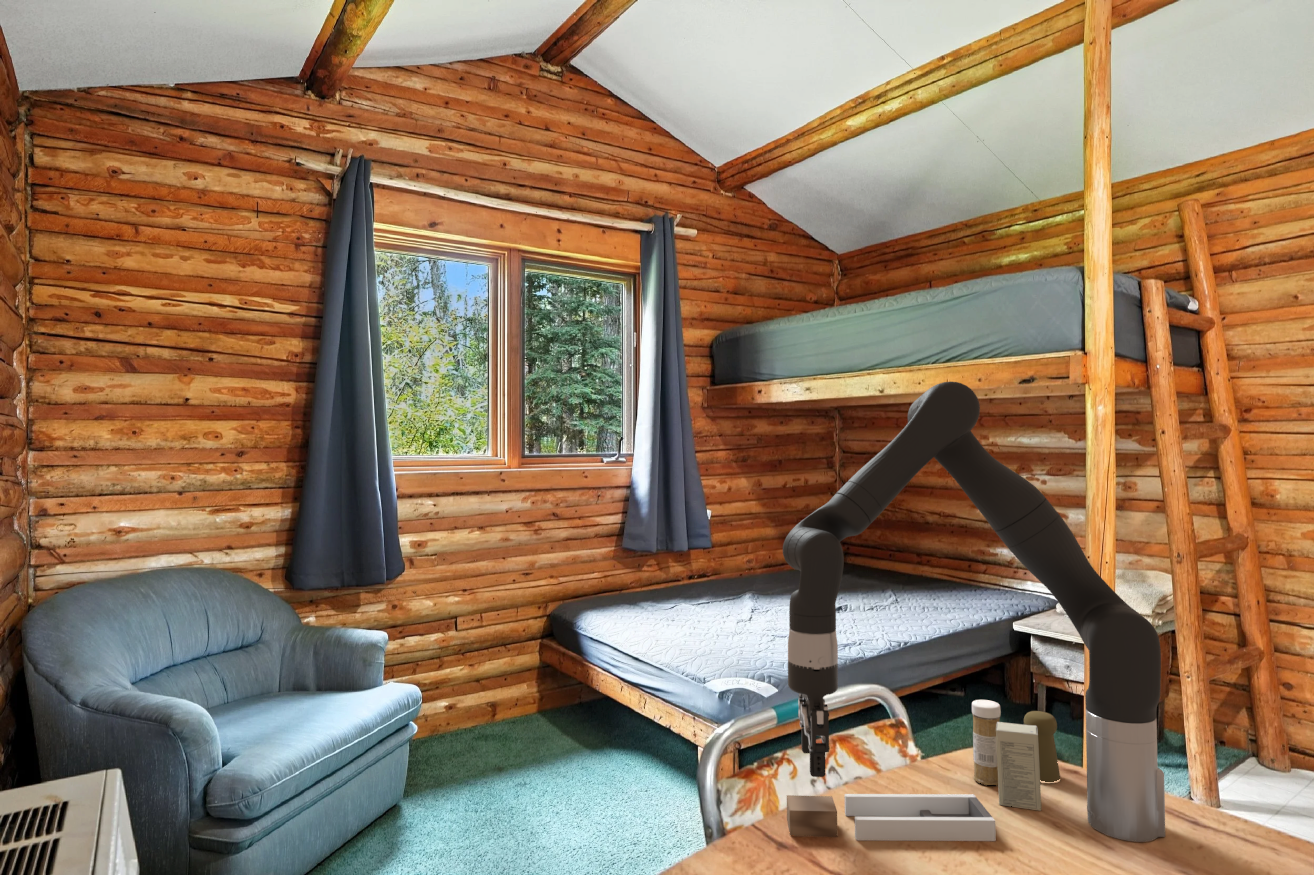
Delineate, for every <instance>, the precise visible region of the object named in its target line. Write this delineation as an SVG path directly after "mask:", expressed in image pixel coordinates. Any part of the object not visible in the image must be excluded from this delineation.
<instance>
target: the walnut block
mask: <svg viewBox="0 0 1314 875" xmlns="http://www.w3.org/2000/svg"><path fill="white" fill-rule="evenodd" d="M835 803H836V802H835V800H834V798H833V796H832V795H830V796H829V795H828V796H827V795H794V794H793V795H789V794H787V795H786V822H787V828H788V832H790V833H789V836H790V835H794V836H793V837H811V836H813V837H814V838H815V837H816V838H838V837H839V836H838V810H837V807H836V804H835Z"/></svg>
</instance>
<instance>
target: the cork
mask: <svg viewBox="0 0 1314 875" xmlns="http://www.w3.org/2000/svg"><path fill="white" fill-rule="evenodd" d="M1023 724H1024V725H1034V726H1037V729H1038V747H1039V768H1040V780H1041V781H1045V782H1054V781H1057V780H1059V779H1061V774H1060V773H1061V772H1060V767H1059V760H1058V756H1057V748H1056V743H1055V736H1054V735H1055V733H1056V732H1057V729H1058V723H1057V720H1056V718H1055V716H1054V715H1052V714H1051V713H1049V712H1046V711H1041V710H1040V711H1039V710H1031V711H1028V712H1026V714H1024V718H1023ZM1057 762H1058V763H1057Z"/></svg>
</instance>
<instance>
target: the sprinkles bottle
mask: <svg viewBox="0 0 1314 875" xmlns="http://www.w3.org/2000/svg"><path fill="white" fill-rule="evenodd" d="M971 713H972V719H973V720H972V722H973V726H972V729H973V730H972V744H973V745H972V750H973V768H974V769H973V773H974V774H973V780H974V781H975V782H976V781H977V782H976V783H978V784H980V783H981V784H980V785H983V784H984V785H983V786H987V785H996V786H998V767H997V744H996V724H997V722H1000V719H1001V713H1002V712H1001V705H1000V704H999V702H996V701H993V700H988V699H975V700H973V701H972V702H971Z"/></svg>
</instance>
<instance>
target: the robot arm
mask: <svg viewBox="0 0 1314 875" xmlns="http://www.w3.org/2000/svg"><path fill="white" fill-rule="evenodd" d="M980 410H981V407H980V400H979V399H978V396H977V395H976V393H975V392H974V390H972V388H970V387H969V386H968V385H966V384H964V383H961V382H959V381H958V382H957V381H944V382H940V383H938V384H935V385H933V386H931V387H929V389H927V390H926V391H925V392H924V393H922V394H921V395H920V396H919V397H918V398H916V400H914V401H913V403H912V404H911V405H910V406H909V409H908V412H907V423H906V425H905V426H904V428H903V429H901V431H900V432H899V433H898V434H897V435H896V436H895V437H894V438H893V439H892V440H891V441H890V442H889V443H888V444H887V445H886V446H885V447H884V448H883V449H882V450H880V451H879V452H878V453H877V454H876V455H874V456H873V457H872V458H871V459H870V460H869V461H868V462H866V464H864V465H863V466H862V467H861V468H859V470H858V471H857V472H856V473H855V474H853V475H852V476H851V477H850V479H848V481H847V482H845V484H844V485H843V486H842V487H840V489H839V490H838V491H836V493H835V494H834V495H833V496H832V497H831V498H830V499H829V501H827V502H826V503H825V504H824V505H822V506H821V507H819V508H817V509H815V510H814V511H813V512H812V513H810V514H809V515H807V516H806V517H805V518H804V519H802V520H800V522H798V523H797V524H796V525H795V526H793V528H792V529H791V530H790V531H789V533H788V534H787V535H786V537H785V539H784V541H783V544H782V555H783V558H784V560H785V562H786V563H787V564H788V565H789V567H791V568H793V569H794V570H796V571H799V572H800V577H799V584H798V585H799V586H798V589H796V590H794V591H793V592H792V593H791V594H790V598H789V607H788V608H789V612H788V613H789V614H788V615H789V618H788V619H789V622H788V623H789V630H788V638H787V686H788V688H789V689H790V690H791V691H792V692H794V693H796V694H798V700H797V704H798V710H797V711H798V714H797V717H798V720H799V727H800V728H801V751H802V753H803V754H809V774H810V776H811V777H813V778H823V777H825V776H826V753H829V752H830V749H831V748H830V729H829V728H830V727H829V726H830V725H829V724H830V722H829V719H830V718H829V717H830V712H829V709H828V704H826V700H825V698H824V697H825V696H828V695H832V694H834V693H836V691H837V690H838V688H839V680H838V679H839V677H838V676H839V673H838V672H839V671H838V670H839V662H838V661H839V658H838V656H839V655H838V654H839V653H838V651H839V650H838V637H837V631H836V629H837V618H836V617H837V613H836V612H837V609H836V607H837V606H836V604H837V603H836V601H837V599H838V595H839V591H840V588H841V587H840V586H841V582H842V577H843V572H844V565H845V564H844V560H845V559H844V550H843V548H842V544H841V542H842V541H843V540H844V539H846V538H848V537H855V536H858V535H861V534H862V533H864V531H866V529H867V528H869V526H870V525H871V524H872V523H873V522H874V521H875V520H876V519H877V518H878V517H879V516H880V515H881V514H882V513H883V511H884V510H885V509H886V508H887V507H888V506H889V505H890V504H891V502H892V501H894V499H896V497H897V496H898V495H899V494H900V493H901V492H902V490H904V488H905V487H906V486H907V485H908V484H909V483H910V482H911V480H912V479H913V478H914V477H915V476H917V474H918V473H919V472H920V471H921V470H922V469H923V468H924V467H925V466H926V465H927V464H928V463H930V461H931V460H932V459H935V460H936V462H938V464H940V466H942V467H943V469H945V470H946V471H947V472H948V473H949V475H950V476H951V477H952V479H954V480H955V481H956V483H957V484H958V485H959V487H960V488H961V489H962V491H963V492H964V493H965V494H966V496H967V497H968V498H969V500H970V501H971V502H972V503H973V505H974V506H975V507H976V509H977V511H979V513H980V514H981V515H982V516H983V517H984V519H985V520H986V522H988V524H989V526H990V527H991V529H992V530H993V531H994V532H995V534H996V535H997V536H998V537H999V539H1001V541H1002V542H1003V543H1004V545H1005V546H1006V548H1007V549H1008V550H1009V551H1010V552H1011V553H1012V554H1013V556H1014V557H1015V558H1016V559H1017V560H1018V561H1019V562H1020V563H1021V564H1022V565H1023V566H1024V567H1025V568H1026V569H1027V571H1028V572H1030V573H1031V574H1032V575H1033V576H1034V577H1035V578H1036V579H1037V580H1038V581H1039V582H1040V583H1041V584H1042V585H1044V587H1045V588H1047V590H1048V591H1049V592H1050V593H1051V594H1052V596H1053V597H1054V598H1055V600H1056V601H1057V603H1058V604H1059V605H1060V607H1061V608H1062V609H1063V611H1064V613H1065V614H1066V615H1067V617H1068V619H1069V620H1070V621H1071V623H1072V625H1073V626H1074V628H1075V629H1076V631H1077V633H1078V634H1079V636H1080V639H1081V640H1082V641H1083V644H1084V645H1085V647H1086V648H1087V650H1088V656H1089V660H1088V662H1089V668H1088V669H1089V670H1088V672H1089V677H1088V678H1089V682H1088V688H1087V689H1086V691H1085V694H1084V696H1085V698H1084V699H1085V736H1086V737H1085V741H1086V742H1085V744H1086V746H1085V747H1086V748H1085V749H1086V750H1085V752H1086V793H1087V795H1086V796H1087V797H1086V799H1087V800H1086V801H1087V802H1086V804H1087V805H1086V811H1087V812H1086V813H1087V823H1088V824H1089V825H1090V826H1091V827H1092V828H1093V829H1095V831H1096V830H1097V831H1098V832H1100V833H1102V834H1103V835H1106V836H1108V837H1112V838H1115V839H1117V840H1118V839H1119V840H1122V841H1128V842H1135V843H1136V842H1137V843H1139V842H1140V843H1143V842H1151V841H1154V840H1155V839H1158V838H1161V837H1162V838H1164V837H1166V806H1165V805H1166V801H1165V798H1166V797H1165V795H1166V794H1165V772H1164V771H1163V770H1162V769H1160V768H1159V767H1158V739H1157V738H1158V730H1157V729H1158V728H1157V725H1158V724H1157V709H1158V708H1157V707H1158V705H1159V702H1160V699H1161V683H1162V682H1161V679H1162V676H1161V674H1162V673H1161V672H1162V670H1161V669H1162V668H1161V666H1162V663H1161V662H1162V654H1161V651H1162V650H1161V642H1160V637H1159V635H1158V631H1157V629H1156V628H1155V627H1154V625H1153V624H1152V623H1151V622H1150V621H1149V620H1148V619H1147V618H1145V617H1144V616H1143V615H1142V614H1140V613H1139V612H1138V611H1136V609H1134V608H1133V607H1132V606H1130V605H1129V604H1128V603H1126V601H1124V600H1123V599H1122V598H1121V597H1120V596H1119V595H1118V594H1117V593H1116V592H1115V591H1114V590H1113V588H1111V586H1109V584H1108V583H1107V582H1106V581H1105V580H1104V579H1103V578H1102V577H1101V575H1100V574H1098V572H1097V571H1096V570H1095V569H1094V567H1093V566H1092V564H1091V563H1090V561H1089V559H1088V558H1087V556H1086V554H1085V553H1084V551H1083V549H1082V547H1081V545H1080V543H1079V542H1078V539H1077V538H1076V537H1075V535H1074V534H1073V532H1072V530H1071V529H1070V527H1069V525H1068V524H1067V523H1066V521H1065V519H1063V517H1062V516H1061V515H1060V514H1059V512H1058V511H1057V510H1056V509H1055V507H1054V506H1053V505H1052V504H1051V502H1049V500H1048V498H1046V496H1045V495H1044V494H1043V492H1041V491H1040V489H1038V488H1037V487H1036V486H1035V485H1034V484H1033V483H1032V482H1030V481H1028V480H1027V479H1026V478H1024V477H1023V476H1022V475H1020V474H1019V473H1018V472H1015V471H1014V470H1012V469H1011V468H1009V467H1007V466H1006V465H1004V463H1002V462H1000V461H999V460H997V459H996V458H994V457H993V456H992V455H991V454H990V452H988V451H987V450H986V449H985V447H984V446H983V445H982V444H981V442H979V439H978V438H976V436H975V434H974V433H973V432H972V430H973V428H974V427H975V426H976V424H977V422H978V420H979V418H980V414H981V413H980V412H981V411H980ZM817 737H821V742H817Z"/></svg>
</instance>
